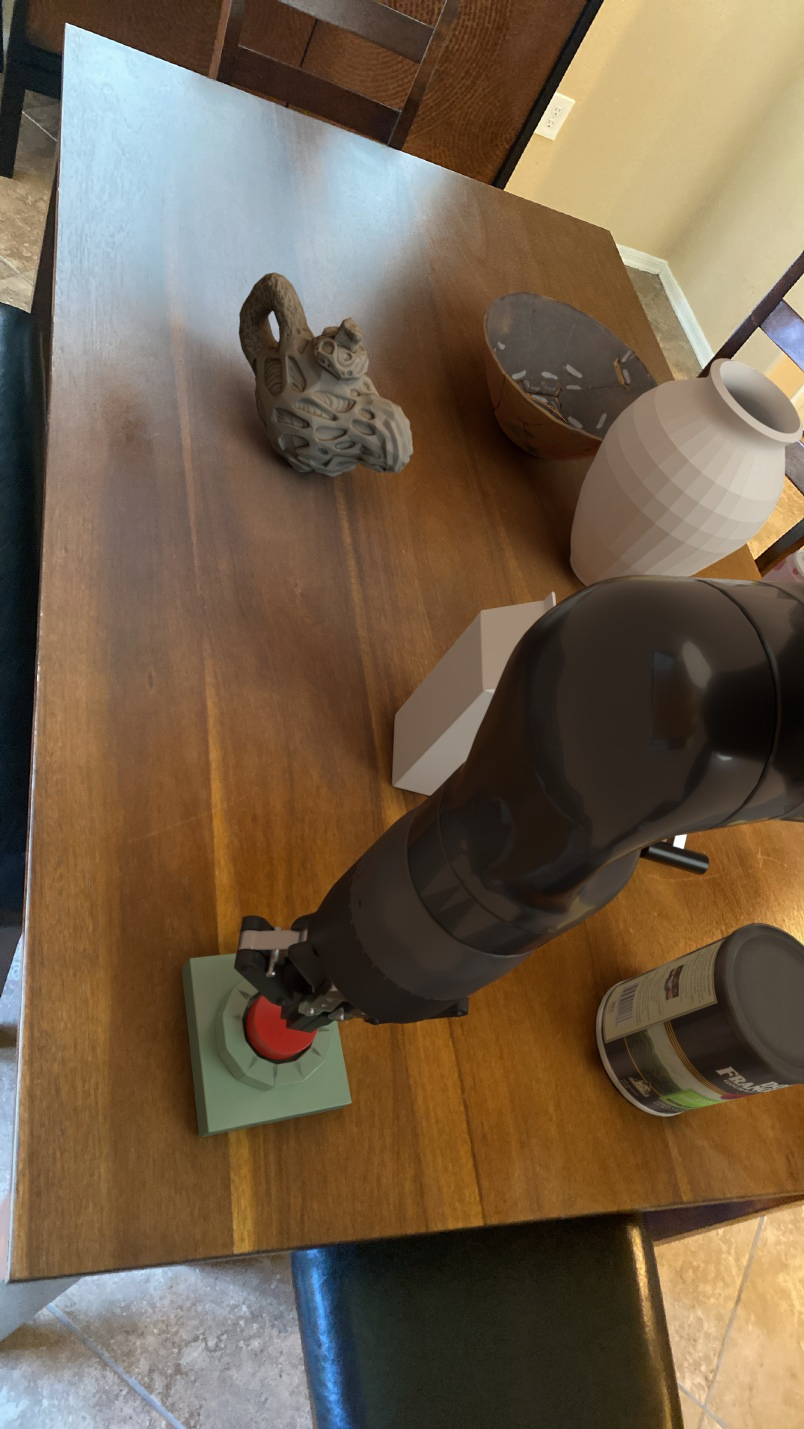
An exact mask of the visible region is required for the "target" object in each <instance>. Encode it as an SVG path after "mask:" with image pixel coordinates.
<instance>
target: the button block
mask: <svg viewBox="0 0 804 1429" xmlns="http://www.w3.org/2000/svg"><path fill="white" fill-rule="evenodd" d="M236 953H237V952H235V953H225V954H216V955H207V956H196V957H190V958H189V959H188V960H187V961H186V962H185V963H184V965H183V966H182V967H181V976H182V984H183V985H182V986H183V993H184V1003H185V1013H186V1023H187V1033H188V1043H189V1051H190V1061H191V1071H192V1080H193V1091H194V1099H195V1100H194V1101H195V1109H196V1118H197V1128H198V1137H199V1138H204V1137H210V1136H214V1135H219V1134H224V1133H229V1132H234V1131H239V1130H244V1129H248V1128H255V1127H257V1126H263V1125H268V1124H272V1123H273V1124H274V1123H277V1122H282V1121H287V1120H293V1119H298V1118H302V1117H307V1116H313V1115H316V1114H321V1113H327V1112H331V1111H335V1110H340V1109H342V1108H344V1107H346V1106H349V1105H351V1104H352V1102H353V1100H352V1096H351V1090H350V1086H349V1079H348V1074H347V1068H346V1063H345V1058H344V1051H343V1047H342V1041H341V1040H342V1039H341V1036H340V1030H339V1024H338V1022H337V1021H333V1022H331V1023H330V1024H329V1025H327V1026H322V1027H319V1028H318V1030H317V1033H316V1035H315V1037H314V1039H313V1041H312V1042H311V1043H310V1044H309V1045H308V1046H307V1047H306V1048H305V1049H303V1050H301V1051H300V1052H298V1053H297V1054H295V1055H293V1056H292V1057H289V1058H287V1059H281V1060H275V1059H270V1058H267V1057H265V1056H263V1055H262V1054H260V1053H259V1052H258V1051H257V1050H256V1049H255V1048H254V1047H253V1045H252V1044H251V1042H250V1040H249V1038H248V1035H247V1030H246V1019H247V1015H248V1011H249V1009H250V1007H251V1006H252V1004H253V1003H254V1002H255V1000H257V999H258V998H259V997H260V996H261V995H262V994H261V993H260V992H259V991H258V990H257V989H256V988H254V987H253V986H252V985H251V984H250V983H249V982H248V981H247V980H246V979H245V978H244V977H243V976H242V975H241V974H240V973H239V972H237V971H236V970H235V969H234V964H235V958H236Z"/></svg>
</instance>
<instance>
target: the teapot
mask: <svg viewBox="0 0 804 1429" xmlns="http://www.w3.org/2000/svg"><path fill="white" fill-rule="evenodd" d="M272 312H273V314H274V317H275V320H276V324H277V326H278V338H279V339H278V340H277V339H276V338H275V336H274V333H273V330H272V326H271V321H270V319H269V316H270V315H271V313H272ZM238 315H239V316H238V317H239V323H238V324H239V326H238V337H239V343H240V347H241V351H242V353H243V355H244V358H245V359H246V361H247V362H248V364H249V366H250V368H251V371H252V373H253V375H254V382H255V386H254V405H255V407H256V412H257V414H258V415H257V416H258V419H259V423H260V425H261V427H262V429H263V432H264V433H265V435H266V437H267V439H268V441H269V442H270V444H271V446H272V447H273V449H274V451H275V453H277V454H278V455H279V456H281V457H282V458H284V459H285V460H286V461H287V462H288V463H289V465H290V466H291V467H293V469H295V470H296V471H297V472H298V473H308V472H312V471H314V472H315V473H317V474H322V475H325V476H326V477H328V478H334V477H337V476H339V475H341V474H342V473H348V472H350V471H353V470H354V469H355V468H356V466H357V465H358V464H359V465H361V466H362V467H365V468H368V469H371V471H374V472H376V473H379V474H381V473H385V474H386V473H395V474H399V475H400V473H401V471H403V469H404V468H405V467H406V465H408V463H409V462H410V459H411V458H410V457H411V456H412V455H413V454H414V447H413V432H412V431H411V421H410V420H409V419H408V417H407V416H406V415H405V413H404V411H403V409H402V406H400V405H398V404H396V403H394V402H392V401H391V400H390V399H386V398H384V397H382V396H380V395H379V393H378V391H377V389H376V387H375V385H374V383H373V381H372V379H371V378H370V377H369V376H368V374H366V373H367V372H368V369H369V368H368V367H369V363H370V360H369V356H368V352H367V350H366V348H365V346H364V345H363V343H362V339H363V332H362V327H360V325H359V324H358V323H357V322H356V321H355V320H354V319H353V318H352V317H351V316H350V317H348V318H345V319H343V320H342V321H341V323H340V324H339V326H338V325H334V326H326V327H324V328H323V330H322V332H321V334H320V335H317V336H315V334H314V333H313V331H312V330H311V327H310V326H309V324H308V321H307V317H306V315H305V311H304V307H303V304H302V302H301V300H300V298H299V294H298V292H297V291H296V289H295V287H294V285H293V283H291V281H290V280H289V279H288V278H287V277H286V276H285V275H283V274H281V273H277V272H269V273H265V274H264V275H263V276H262V277H261V278H260V279H258V281H256V282H255V283H254V284H253V286H252V288H251V290H250V292H249V293H248V295H247V297H246V298H245V300H244V302H243V303H242V306H241V308H240V311H239V314H238Z"/></svg>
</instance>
